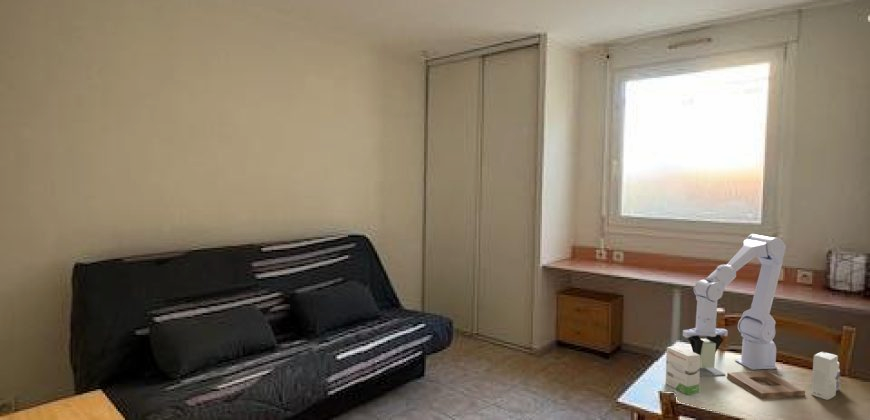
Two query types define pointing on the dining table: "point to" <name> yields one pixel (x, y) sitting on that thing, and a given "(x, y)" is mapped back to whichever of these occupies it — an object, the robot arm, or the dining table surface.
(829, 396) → the skincare box
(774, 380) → the pocket block
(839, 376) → the pill bottle
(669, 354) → the ink box
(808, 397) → the dining table surface
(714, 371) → the rubber pad
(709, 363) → the sage block
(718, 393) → the dining table surface
